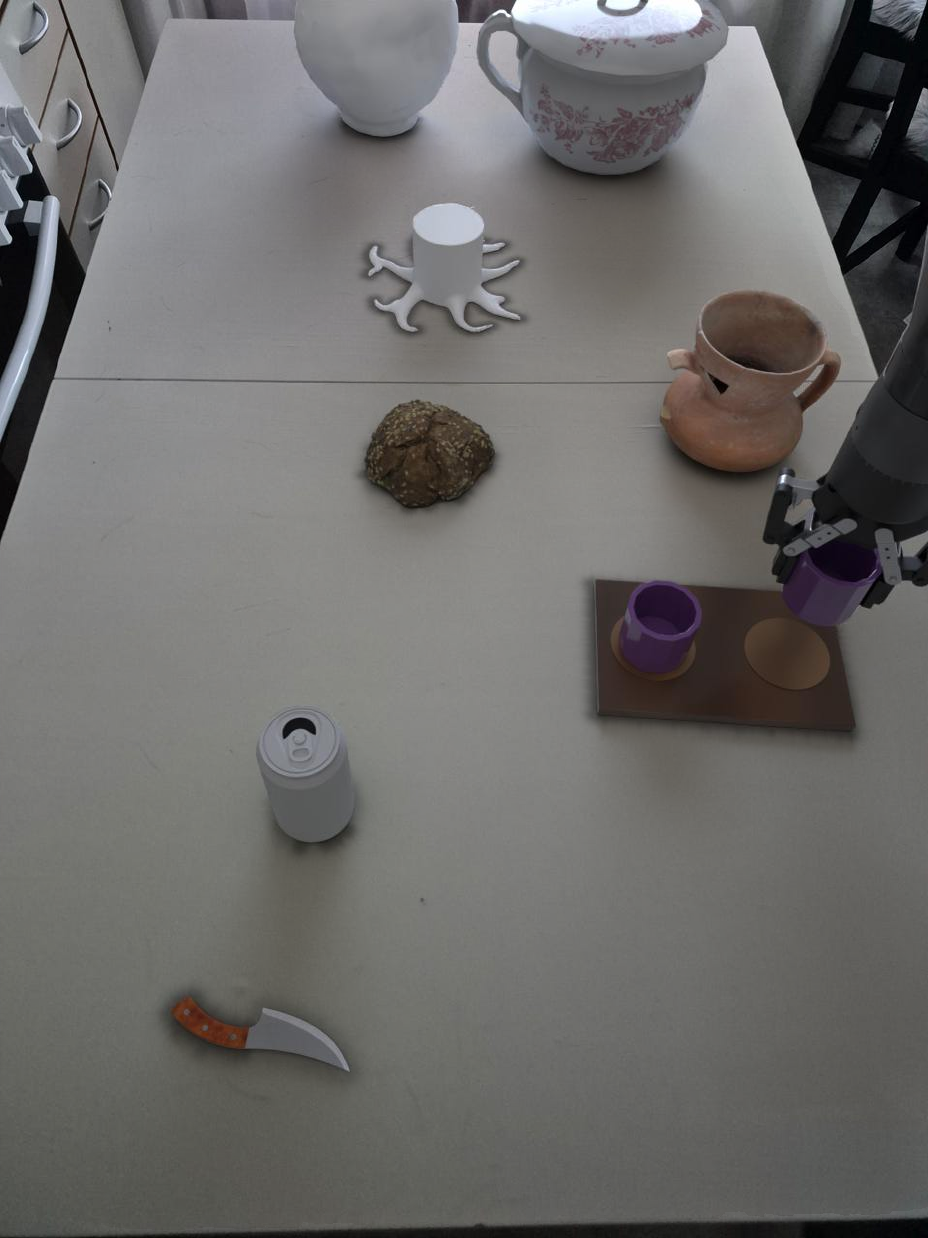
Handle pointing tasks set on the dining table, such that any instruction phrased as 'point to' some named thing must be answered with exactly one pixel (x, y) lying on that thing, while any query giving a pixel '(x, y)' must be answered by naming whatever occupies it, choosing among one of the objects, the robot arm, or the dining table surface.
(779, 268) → the dining table surface
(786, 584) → the ramekin
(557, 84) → the chamber pot
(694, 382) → the ceramic jug
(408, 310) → the tree stump
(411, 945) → the dining table surface
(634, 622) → the ramekin
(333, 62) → the vase
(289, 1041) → the knife
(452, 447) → the bread roll
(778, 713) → the serving board
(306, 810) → the beverage can
